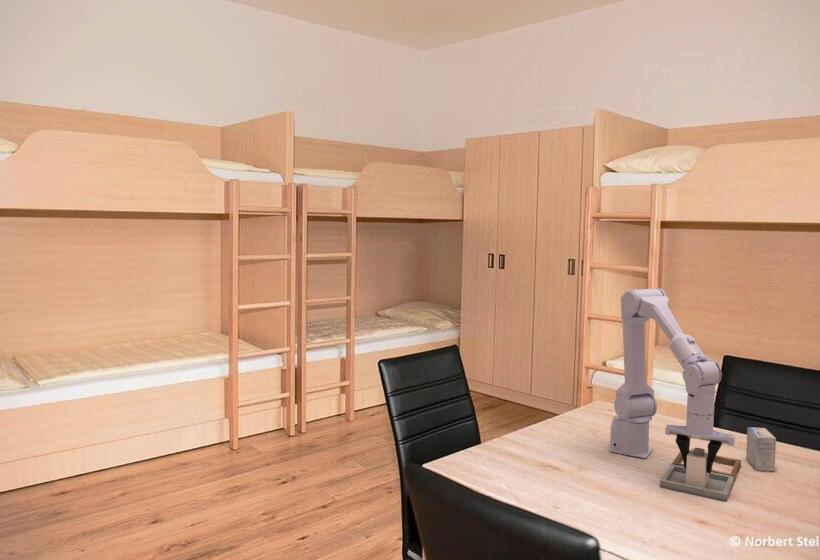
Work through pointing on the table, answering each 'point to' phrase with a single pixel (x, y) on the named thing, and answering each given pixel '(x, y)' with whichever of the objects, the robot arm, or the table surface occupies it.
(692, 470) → the plug block
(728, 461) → the frame
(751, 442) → the medicine box
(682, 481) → the lower tray
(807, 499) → the table surface
